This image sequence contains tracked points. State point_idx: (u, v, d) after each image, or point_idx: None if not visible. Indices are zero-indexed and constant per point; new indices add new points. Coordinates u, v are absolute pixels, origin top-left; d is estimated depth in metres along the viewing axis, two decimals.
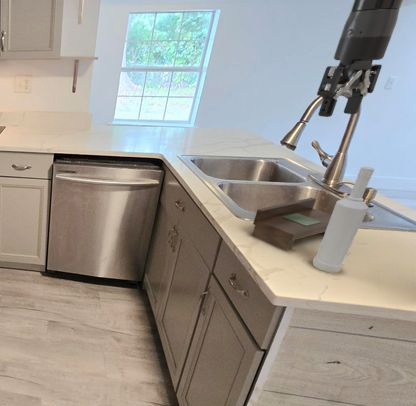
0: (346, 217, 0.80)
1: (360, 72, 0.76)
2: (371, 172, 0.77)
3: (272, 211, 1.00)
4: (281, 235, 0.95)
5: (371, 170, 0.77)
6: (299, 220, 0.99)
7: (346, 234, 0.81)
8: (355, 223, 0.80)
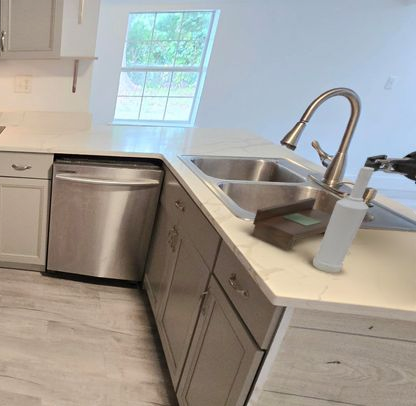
0: (346, 217, 0.80)
1: (412, 158, 0.85)
2: (371, 172, 0.77)
3: (272, 211, 1.00)
4: (281, 235, 0.95)
5: (371, 170, 0.77)
6: (299, 220, 0.99)
7: (346, 234, 0.81)
8: (355, 223, 0.80)
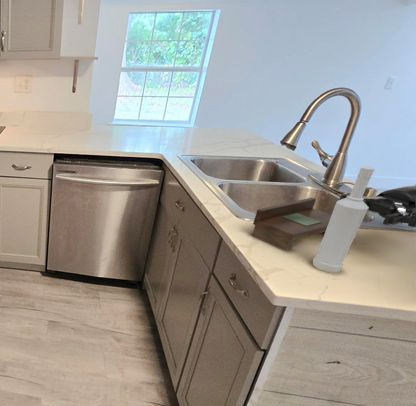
0: (346, 217, 0.80)
1: (383, 197, 0.86)
2: (371, 172, 0.77)
3: (272, 211, 1.00)
4: (281, 235, 0.95)
5: (371, 170, 0.77)
6: (299, 220, 0.99)
7: (346, 234, 0.81)
8: (355, 223, 0.80)
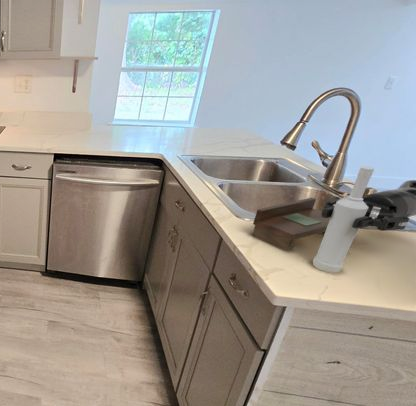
0: (346, 217, 0.80)
1: (364, 202, 0.84)
2: (371, 172, 0.77)
3: (272, 211, 1.00)
4: (281, 235, 0.95)
5: (371, 170, 0.77)
6: (299, 220, 0.99)
7: (346, 234, 0.81)
8: None
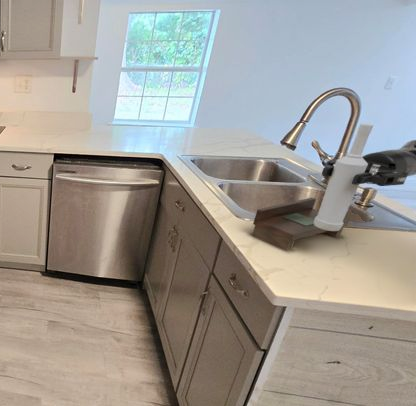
0: (346, 174, 0.82)
1: None
2: (370, 128, 0.78)
3: (272, 211, 1.00)
4: (281, 235, 0.95)
5: (370, 126, 0.78)
6: (299, 220, 0.99)
7: (346, 191, 0.83)
8: None
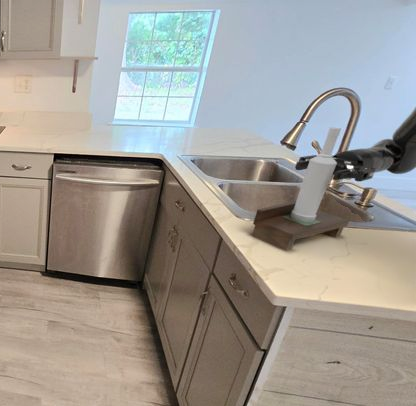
0: (317, 172, 0.93)
1: (336, 158, 0.96)
2: (338, 131, 0.89)
3: (272, 211, 1.00)
4: (281, 235, 0.95)
5: (338, 129, 0.89)
6: None
7: (318, 186, 0.93)
8: (326, 176, 0.92)
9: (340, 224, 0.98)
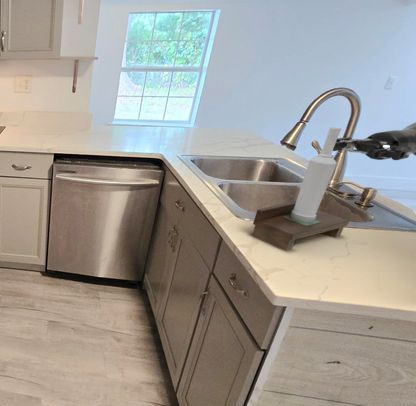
0: (317, 171, 0.93)
1: (371, 139, 0.99)
2: (338, 131, 0.89)
3: (272, 211, 1.00)
4: (281, 235, 0.95)
5: (338, 129, 0.89)
6: None
7: (318, 186, 0.94)
8: (326, 176, 0.92)
9: (340, 224, 0.98)
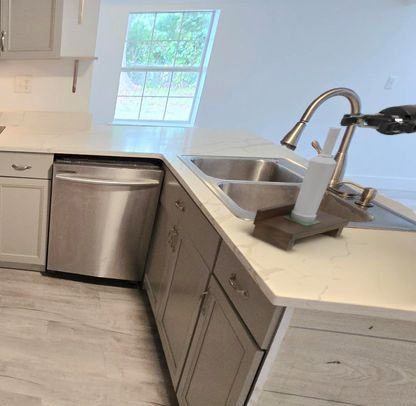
0: (317, 171, 0.93)
1: (382, 113, 0.96)
2: (338, 131, 0.89)
3: (272, 211, 1.00)
4: (281, 235, 0.95)
5: (338, 129, 0.89)
6: None
7: (318, 186, 0.94)
8: (326, 176, 0.92)
9: (340, 224, 0.98)
